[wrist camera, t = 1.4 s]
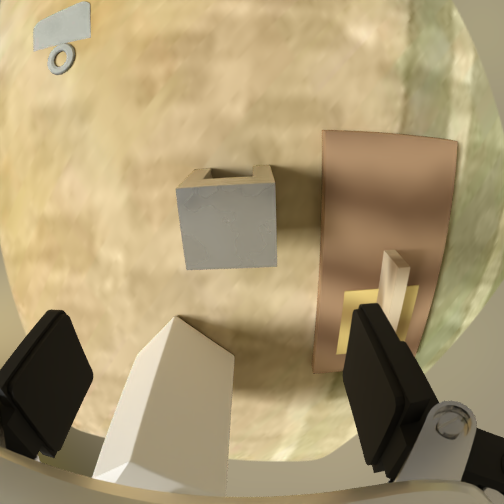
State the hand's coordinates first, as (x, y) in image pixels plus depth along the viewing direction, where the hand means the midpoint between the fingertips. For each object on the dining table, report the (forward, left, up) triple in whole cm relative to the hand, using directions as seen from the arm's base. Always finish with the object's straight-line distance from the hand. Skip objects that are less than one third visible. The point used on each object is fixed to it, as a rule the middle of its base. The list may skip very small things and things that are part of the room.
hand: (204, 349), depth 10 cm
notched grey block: (0, 0, -15) cm, 15 cm away
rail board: (+6, +12, -15) cm, 20 cm away
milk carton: (+15, -6, -16) cm, 22 cm away
